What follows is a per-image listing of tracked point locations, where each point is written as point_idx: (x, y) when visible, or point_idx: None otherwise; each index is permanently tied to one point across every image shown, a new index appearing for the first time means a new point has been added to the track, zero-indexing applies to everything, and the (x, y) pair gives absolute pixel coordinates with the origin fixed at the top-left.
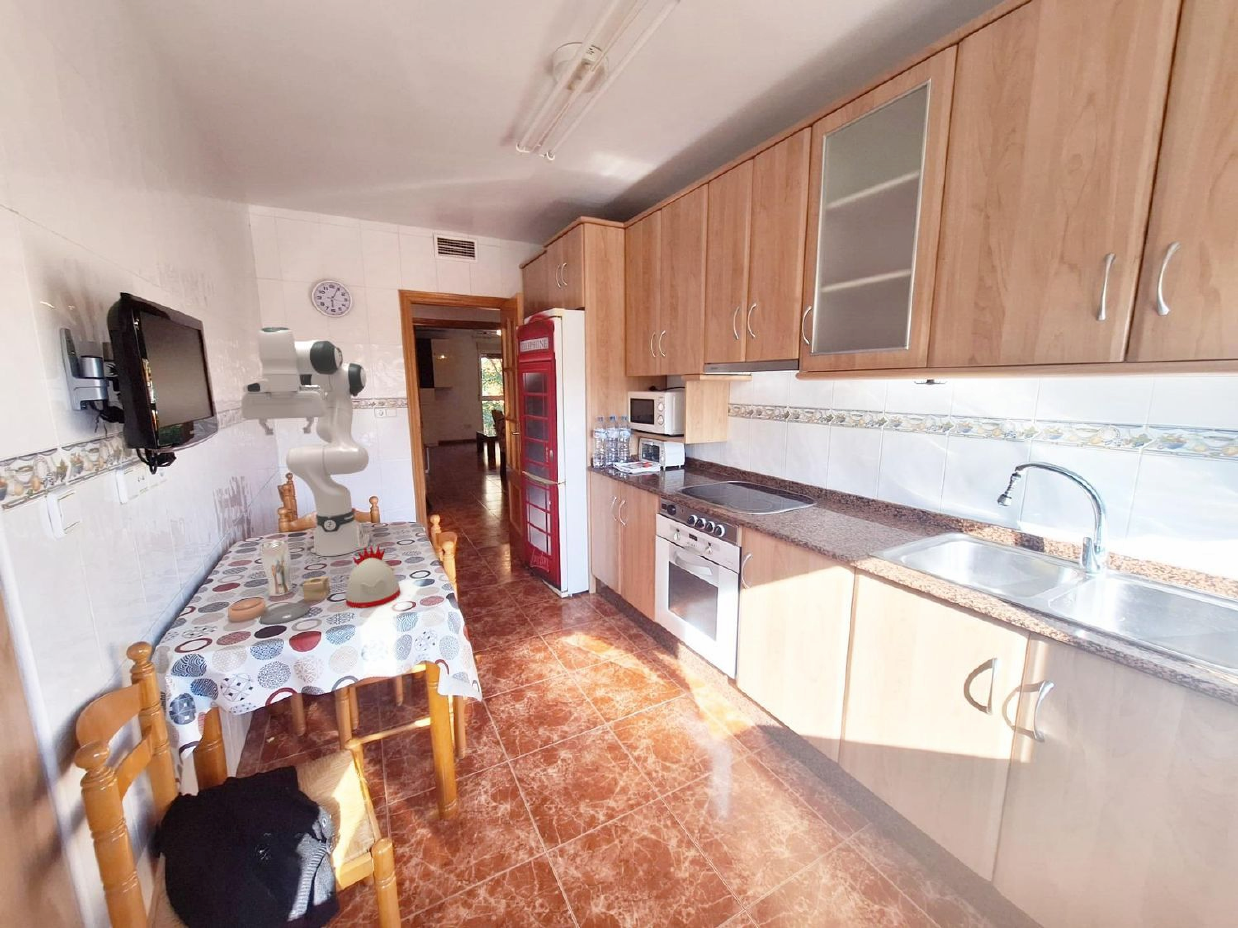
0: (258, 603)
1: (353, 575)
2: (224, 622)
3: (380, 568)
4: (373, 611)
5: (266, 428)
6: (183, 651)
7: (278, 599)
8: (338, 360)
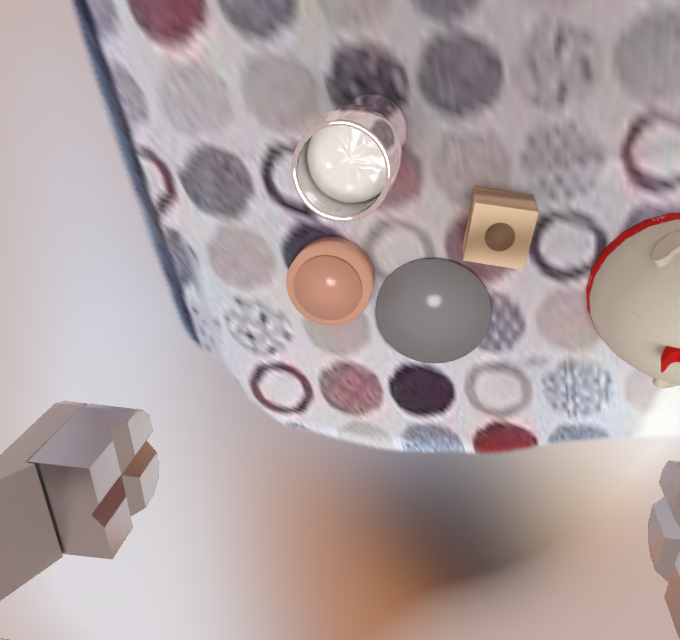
0: (359, 299)
1: (639, 361)
2: None
3: None
4: None
5: (45, 564)
6: (274, 407)
7: None
8: None
